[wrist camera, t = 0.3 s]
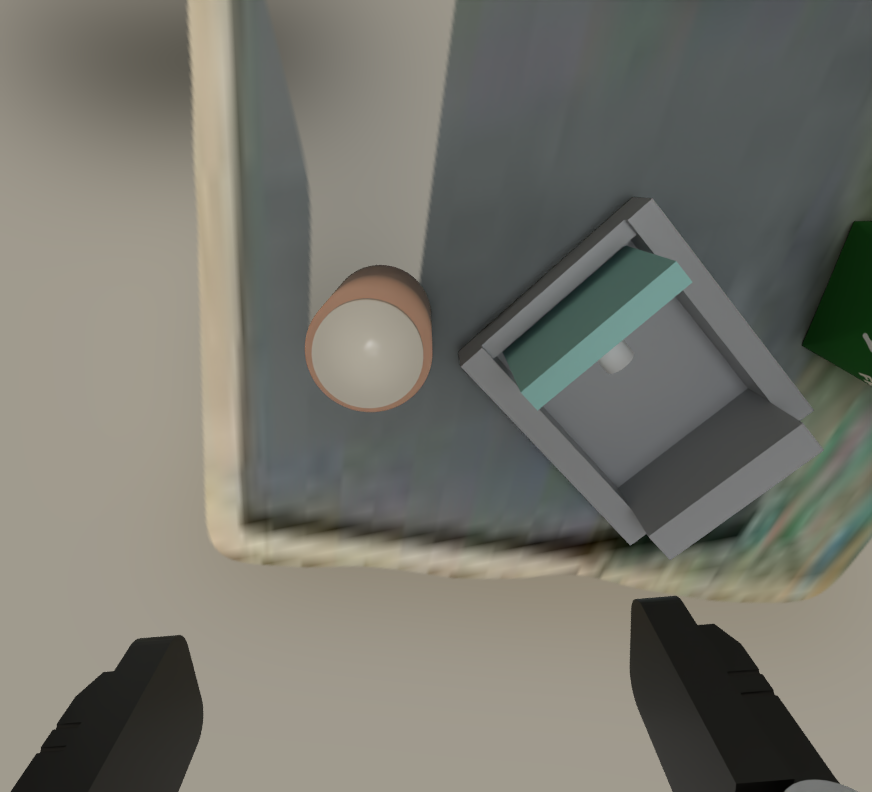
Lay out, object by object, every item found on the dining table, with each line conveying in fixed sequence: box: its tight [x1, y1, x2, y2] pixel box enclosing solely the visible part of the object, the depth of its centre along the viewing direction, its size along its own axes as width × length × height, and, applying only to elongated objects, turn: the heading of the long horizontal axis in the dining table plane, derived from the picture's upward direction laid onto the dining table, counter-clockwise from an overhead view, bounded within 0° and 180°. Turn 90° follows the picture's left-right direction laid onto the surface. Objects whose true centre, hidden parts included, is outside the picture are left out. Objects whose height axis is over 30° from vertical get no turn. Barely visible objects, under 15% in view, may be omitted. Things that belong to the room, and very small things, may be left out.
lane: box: [458, 197, 823, 560], centre depth 33 cm, size 12×15×6 cm
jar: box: [305, 265, 432, 412], centre depth 30 cm, size 6×6×9 cm
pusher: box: [503, 245, 692, 411], centre depth 30 cm, size 9×3×7 cm, turn 133°
